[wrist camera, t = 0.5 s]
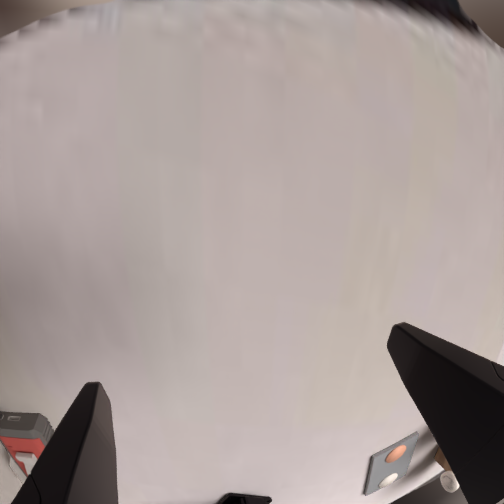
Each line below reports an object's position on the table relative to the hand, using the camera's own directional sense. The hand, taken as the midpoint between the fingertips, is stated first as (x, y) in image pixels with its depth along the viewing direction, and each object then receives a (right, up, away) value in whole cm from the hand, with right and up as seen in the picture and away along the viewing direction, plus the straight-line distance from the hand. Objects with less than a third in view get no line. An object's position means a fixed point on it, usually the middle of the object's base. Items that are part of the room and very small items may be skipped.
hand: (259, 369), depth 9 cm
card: (+21, -30, +29) cm, 46 cm away
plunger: (+34, -33, +28) cm, 55 cm away
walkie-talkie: (-23, -21, +16) cm, 35 cm away
